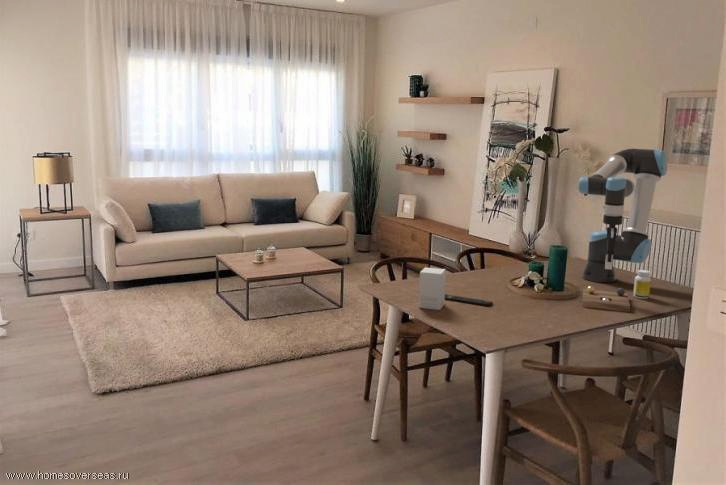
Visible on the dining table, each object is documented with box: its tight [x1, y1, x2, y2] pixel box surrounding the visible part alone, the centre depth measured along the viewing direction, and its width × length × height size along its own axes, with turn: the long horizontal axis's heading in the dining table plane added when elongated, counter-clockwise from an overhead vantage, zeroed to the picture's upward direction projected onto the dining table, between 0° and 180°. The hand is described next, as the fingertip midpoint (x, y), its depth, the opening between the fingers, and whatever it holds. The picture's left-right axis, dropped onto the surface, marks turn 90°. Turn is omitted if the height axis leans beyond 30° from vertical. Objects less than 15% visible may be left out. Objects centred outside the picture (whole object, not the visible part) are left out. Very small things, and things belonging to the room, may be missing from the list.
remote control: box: [444, 293, 494, 308], centre depth 267 cm, size 5×24×1 cm, turn 63°
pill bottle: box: [632, 269, 652, 300], centre depth 277 cm, size 6×6×12 cm
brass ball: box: [586, 285, 596, 294], centre depth 273 cm, size 3×3×3 cm
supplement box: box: [418, 266, 447, 311], centre depth 258 cm, size 9×9×15 cm
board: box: [581, 287, 631, 313], centre depth 269 cm, size 20×18×2 cm
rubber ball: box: [616, 287, 626, 295], centre depth 271 cm, size 3×3×3 cm
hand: (608, 268), depth 273 cm, fingers closed
